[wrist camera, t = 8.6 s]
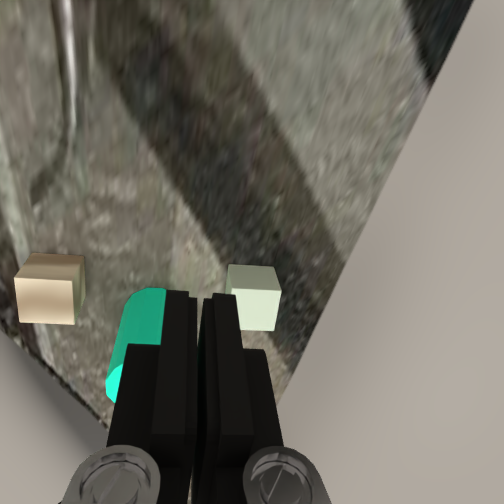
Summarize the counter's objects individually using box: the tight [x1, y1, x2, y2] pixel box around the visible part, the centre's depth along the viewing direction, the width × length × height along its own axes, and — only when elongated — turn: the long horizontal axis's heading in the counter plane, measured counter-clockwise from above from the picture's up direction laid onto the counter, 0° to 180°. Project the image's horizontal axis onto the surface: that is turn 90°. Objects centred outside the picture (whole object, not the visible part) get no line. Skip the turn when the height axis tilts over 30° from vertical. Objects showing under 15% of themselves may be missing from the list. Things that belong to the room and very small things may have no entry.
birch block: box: [14, 253, 86, 324], centre depth 39 cm, size 4×4×4 cm
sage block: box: [225, 264, 281, 331], centre depth 42 cm, size 4×4×4 cm
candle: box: [106, 288, 166, 403], centre depth 38 cm, size 6×6×12 cm
